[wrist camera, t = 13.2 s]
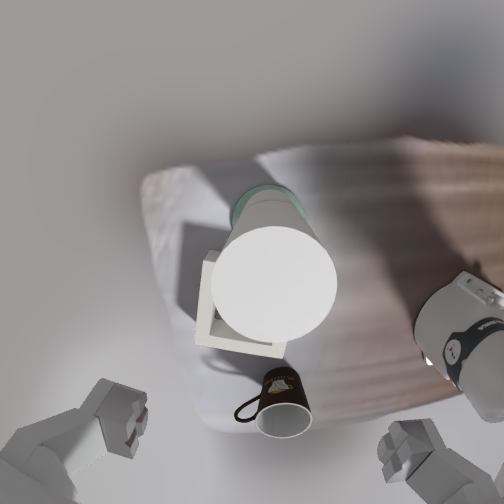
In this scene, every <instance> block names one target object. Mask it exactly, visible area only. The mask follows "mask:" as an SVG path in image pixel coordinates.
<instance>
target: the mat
mask: <svg viewBox="0 0 504 504" xmlns="http://www.w3.org/2000/svg"><path fill="white" fill-rule="evenodd" d="M268 189H272V190H278V191H280V192H282V193H284V194H286V195H287V196H288V197H289V198H290V199H291V200H292V202H293V203H294V205H295V206H296V207H297V209H298V210H299V212H300V213H301V215H302V216H303V217H304V219H305V213H304V209H303V207H302V205H301V203H300V201H299V200H298V199H297V197H296V196H295V195H294V194H293V193H291V192H290V191H288V190H287V189H285V188H283V187H280V186H276V185H262V186H258V187H255V188H253V189H251V190H249V191H248V192H246V193H245V194H244V195H243V196H242V197H241V198H240V200H239V201H238V202H237V204H236V206H235V209H234V212H233V217H232V226H233V228H234V226H235V224H236V222H237V221H238V219H239V217H240V215H241V213H242V211H243V209H244V207H245V205H246V204H247V202H248V200H249V199H250V198H251V197H252V196H253V195H254V194H256V193H257V192H260V191H262V190H268Z"/></svg>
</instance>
